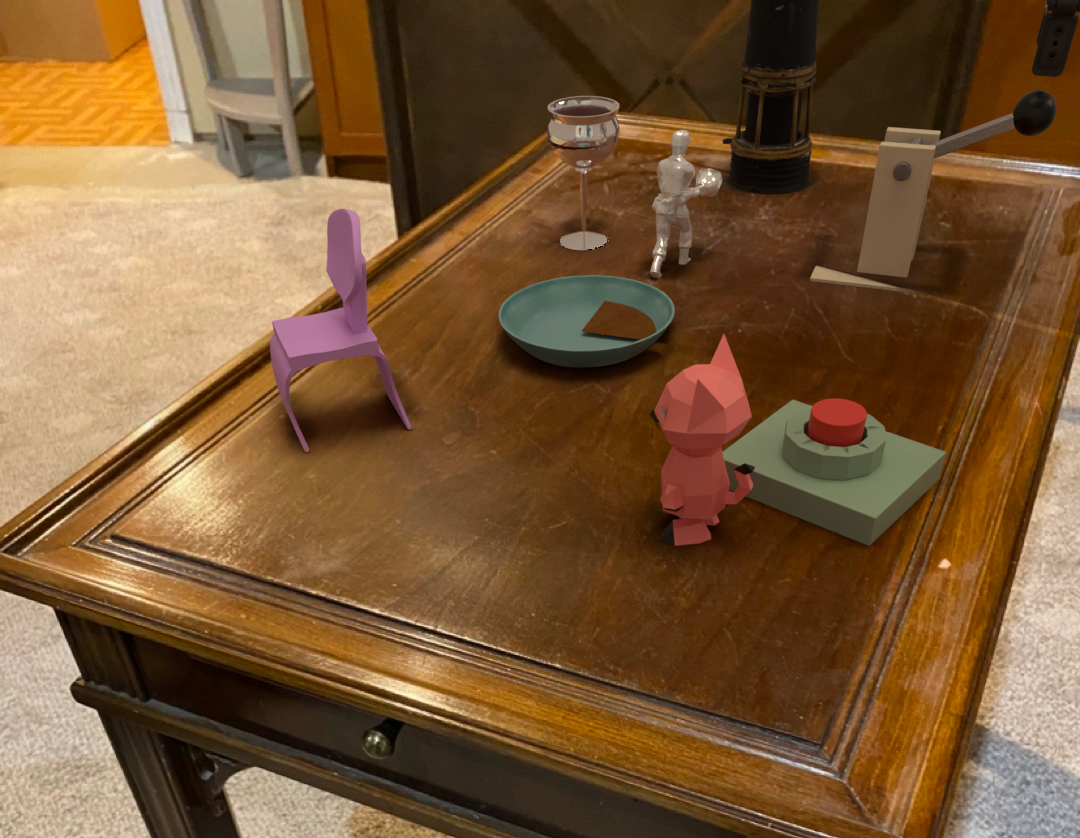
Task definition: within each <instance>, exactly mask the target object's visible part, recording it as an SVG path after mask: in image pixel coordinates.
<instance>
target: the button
mask: <svg viewBox="0 0 1080 838" xmlns="http://www.w3.org/2000/svg"><path fill="white" fill-rule="evenodd" d="M811 406H812V408H811V413H810V419H809V425H808V431H807V435H808V437H809V438H810V439H811V440H812V441H815V442H818V443H821V444H823V445H826V446H836V447H848V446H852V445H856V444H859V443H860V442H861V440H862V436H863V432H864V427H865V422H866V417H867V414H868V412H867V410H866V409H865V407H864V406H863V405H861V404H860V403H858V402H856V401H853V400H849V399H844V398H826V399H821V400H819V401H817V402H815V403H814V404H813V405H811Z"/></svg>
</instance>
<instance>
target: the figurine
mask: <svg viewBox="0 0 1080 838" xmlns="http://www.w3.org/2000/svg"><path fill="white" fill-rule="evenodd" d="M690 144H691V136H690V132H689V131H688V130H685V129H678V130H675V131H674V132H673V133H672V135H671V139H670V146H671V155H670V156H669V157H667V158H665V159H661V160H660V161H659V162H658V165H657V167H656V177H657V185H658V188H659V191H660V193H658V195H657V196H656V197H655V198H654V200H653V202H652V204H651V209H652V211H653V212H655V233H656V242H655V245H654V247H653V250H652V254H651V255H652V258H653V261H652V263H651V266H650V271H649V274H650V276H651V278H653V279H660V278H661V277H662V276H663V274H662V273H661V267H662V264H663V262H665V261H666V257H667V253H668V247H669V239H670V236H671V232H672V231H671V230H672V227H673V226H675V227H677V229H678V230H679V237H678V239H679V240H678V245H677V246H678V248H679V254H678V263H677V264H678V265H687V264H688V263H689V262H690V261H691V259H692V258H691V257H689V253H690V249H691V248H692V247H693V244H692V241H693V225H692V221H691V217H690V210H689V207H688V205H687V202H688V201H689V200H690V199H696V198H698V197H699V196H700V197H705V196H707V197H716V195H717V193H718V192H719V190H720V188H721V186H722V183H723V176H722V173H721V172H720V171H719V170H716V169H713V168H711V167H710V168H701V169H700V170H699V171H698V173H697V175H696V177H695V187H693V186H692V187H691V186H690V184H691V182H692V181H693V179H694V176H695V173H696V172H695V171H696V170H695V167H694V164H692V162H690V161H688V160H687V159H686V158H685V156H686V153H687V151H688V149H689V148H688V147H689V145H690Z"/></svg>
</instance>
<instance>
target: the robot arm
mask: <svg viewBox="0 0 1080 838" xmlns="http://www.w3.org/2000/svg"><path fill="white" fill-rule="evenodd" d="M1079 18H1080V0H1046V1H1045V5H1044V8H1043V15H1042V18H1041V22H1040V26H1039V30H1038V34H1037V37H1036V45H1037V47H1036V51H1035V55H1034V58H1033V63H1032V67H1031V72H1032V74H1033V75H1034V76H1036V77H1037V76H1038V77H1051V78H1052V77H1053V78H1055V77H1059V76H1061V75H1062V74H1063V72H1064V71H1065V68H1066V67H1065V66H1066V64H1067V60H1068V56H1069V52H1070V51H1071V50H1070V49H1071V46H1072V42H1073V39H1074V35H1075V32H1076V29H1077V25H1078V21H1079Z"/></svg>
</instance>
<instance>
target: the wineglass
mask: <svg viewBox="0 0 1080 838" xmlns="http://www.w3.org/2000/svg"><path fill="white" fill-rule="evenodd" d="M619 109H620V103H619V102H618V101H616V100H614V99H613V98H608V97H604V96H599V95H598V96H596V95H576V96H568V97H564V98H559V99H556V100H554V101H552V102H550V103H549V104H548V105H547V111H548V112H549V115H550V117H551V118H550V120H549V122H548V127H547V131H546V132H547V141H548V144H549V146H550V148H551V150H552V152H553V153H554V154H555V155H556V156H557V157H558V158H559V160H560V161H561V162H562V163H564V164H566V165H568V166H569V167H572V168H574V170H575V172H576V173H577V174H579V191H580V192H579V194H580V216H581V219H580V220H581V230H577V231H572V232H568V233H566V234H563V235H562V236H561V237H560V238H561V239H560V238H559V239H560V243H561V244H560V243H559V244H560V246H562V247H563V246H564V248H566V249H568V250H574V251H589V250H588V249H592V250H596V249H595V247H597V249H599V248H598V247H600V246H603V247H605V246H604V245H603V244H605V243H607V238H608V237H607V238H606V236H607V235H606V234H603V233H601V232H598V231H593V230H587V208H588V207H587V206H588V204H587V203H588V180H589V179H588V177H589V176H588V175H589V174H590V173H592V170H593V168H594V167H596V166H598V165H600V164H602V163H604V162H605V161H606V160H607V159H608V158H609V156H611V154H613V152H614V151H615V149H616V148H617V146H618V142H619V138H620V129H621V128H620V122H619V119H618V118H617V114H618V112H619ZM607 244H608V243H607Z"/></svg>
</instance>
